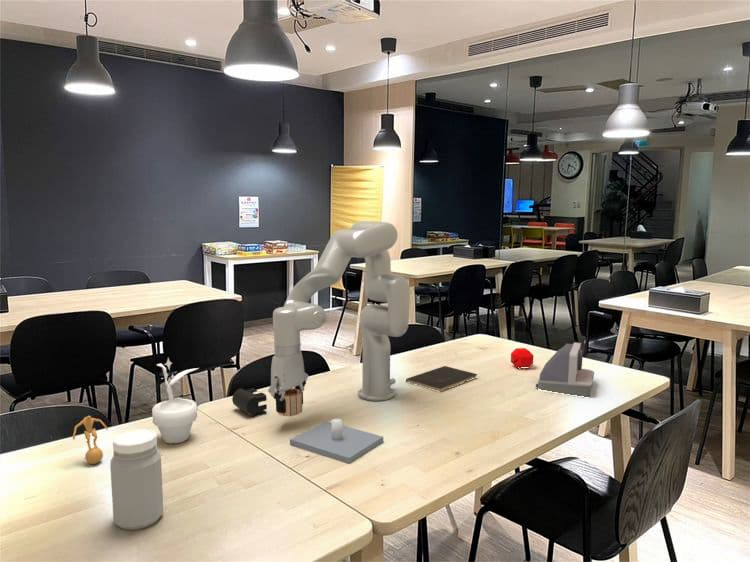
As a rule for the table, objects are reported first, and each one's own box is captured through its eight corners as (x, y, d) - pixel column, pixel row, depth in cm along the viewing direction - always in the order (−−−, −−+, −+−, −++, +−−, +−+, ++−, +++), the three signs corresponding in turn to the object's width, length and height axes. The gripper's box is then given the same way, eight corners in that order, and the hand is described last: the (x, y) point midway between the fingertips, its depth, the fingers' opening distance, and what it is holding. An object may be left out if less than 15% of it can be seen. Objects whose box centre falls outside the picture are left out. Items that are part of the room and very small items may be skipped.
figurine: (80, 471, 137) (76, 424, 135) (71, 463, 141) (67, 417, 139) (114, 460, 143) (112, 415, 141) (105, 453, 147) (102, 409, 145)
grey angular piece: (588, 401, 189) (590, 358, 187) (527, 389, 201) (529, 349, 199) (601, 384, 207) (603, 345, 205) (545, 375, 218) (547, 337, 216)
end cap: (232, 410, 178) (231, 390, 177) (252, 405, 183) (251, 385, 182) (247, 419, 171) (246, 398, 170) (267, 414, 175) (267, 393, 174)
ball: (508, 365, 231) (509, 347, 230) (527, 364, 232) (528, 346, 231) (515, 370, 223) (516, 352, 222) (534, 370, 224) (535, 351, 223)
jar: (102, 526, 113) (96, 441, 111) (138, 502, 122) (134, 424, 120) (139, 536, 110) (135, 449, 107) (174, 511, 119) (170, 431, 117)
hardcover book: (477, 379, 213) (477, 374, 213) (440, 394, 196) (440, 387, 196) (443, 371, 224) (443, 365, 224) (405, 383, 207) (405, 378, 207)
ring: (289, 405, 170) (288, 386, 169) (306, 410, 166) (306, 390, 165) (273, 413, 164) (272, 393, 163) (290, 418, 160) (290, 398, 159)
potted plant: (154, 451, 148) (150, 359, 145) (153, 435, 158) (148, 349, 155) (204, 443, 153) (201, 354, 150) (199, 428, 163) (196, 344, 160)
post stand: (326, 425, 166) (326, 404, 165) (383, 441, 155) (383, 419, 154) (290, 444, 153) (289, 421, 152) (349, 463, 142) (349, 439, 141)
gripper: (297, 341, 171) (299, 396, 174) (256, 355, 157) (259, 415, 160) (316, 344, 167) (318, 401, 170) (276, 359, 153) (278, 420, 156)
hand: (289, 407), depth 165 cm, fingers closed on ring, 7 cm apart
